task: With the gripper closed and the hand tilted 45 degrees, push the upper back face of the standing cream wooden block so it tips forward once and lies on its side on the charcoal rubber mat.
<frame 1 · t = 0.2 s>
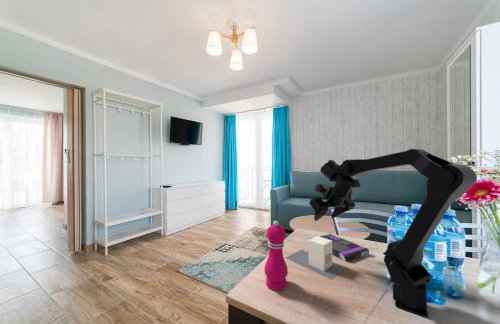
hand: (323, 218, 80), 15 cm above the table, tool tilted 35°, fingers open, 9 cm apart
block: (320, 264, 72), resting on mat
mat: (314, 263, 74), on the table
box: (337, 250, 86), on the table
pepper mill: (276, 285, 61), on the table
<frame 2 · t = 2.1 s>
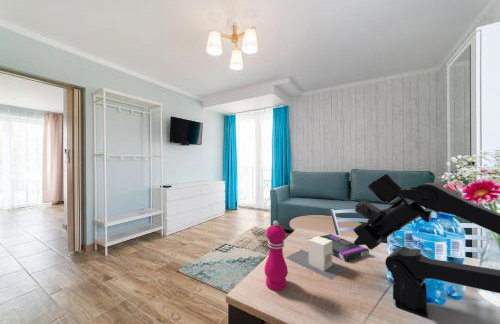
hand: (355, 243, 63), 12 cm above the table, tool tilted 45°, fingers closed
nothing on the table moved.
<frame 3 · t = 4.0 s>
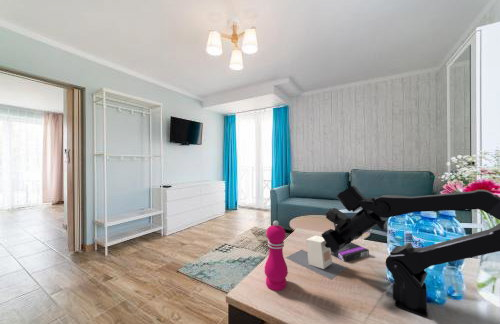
hand: (326, 246, 70), 8 cm above the table, tool tilted 45°, fingers closed
block: (320, 263, 72), point 1 cm above the table, tilted 6°, touching mat
everything else where it was.
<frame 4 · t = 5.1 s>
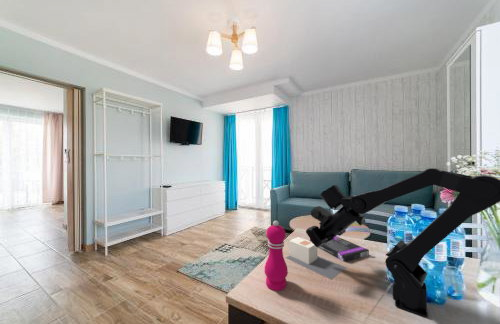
hand: (312, 242, 74), 8 cm above the table, tool tilted 45°, fingers closed
block: (313, 253, 74), point 3 cm above the table, tilted 90°, touching mat
everything else where it was.
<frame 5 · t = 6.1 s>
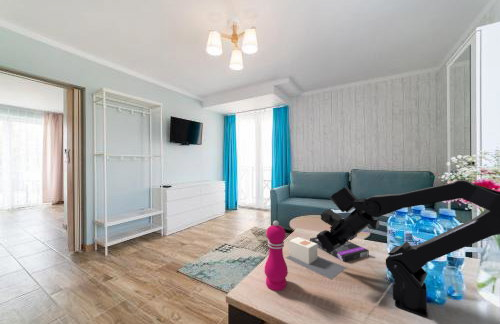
hand: (322, 247, 71), 7 cm above the table, tool tilted 45°, fingers closed
nothing on the table moved.
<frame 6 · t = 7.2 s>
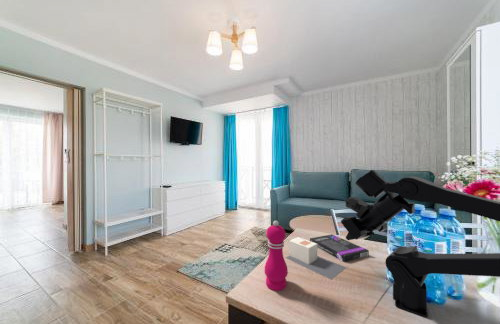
hand: (347, 238, 65), 13 cm above the table, tool tilted 40°, fingers closed
nothing on the table moved.
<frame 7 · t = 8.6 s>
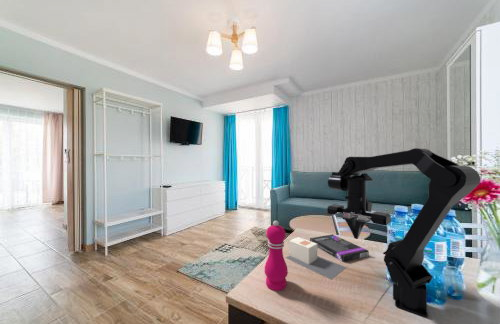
hand: (356, 238, 67), 12 cm above the table, tool pointing down, fingers closed
nothing on the table moved.
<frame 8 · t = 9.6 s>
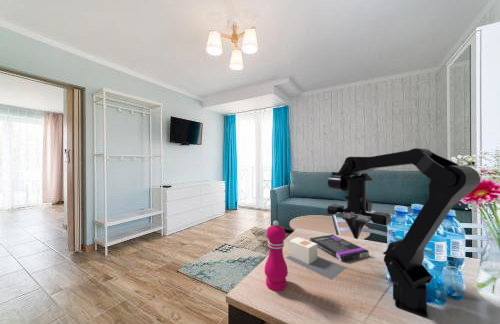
hand: (356, 238, 67), 12 cm above the table, tool pointing down, fingers closed
nothing on the table moved.
at the end: block tilted 90°; block inside the target area (0.6 cm from its centre), point 3.4 cm above the table; block touching mat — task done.
